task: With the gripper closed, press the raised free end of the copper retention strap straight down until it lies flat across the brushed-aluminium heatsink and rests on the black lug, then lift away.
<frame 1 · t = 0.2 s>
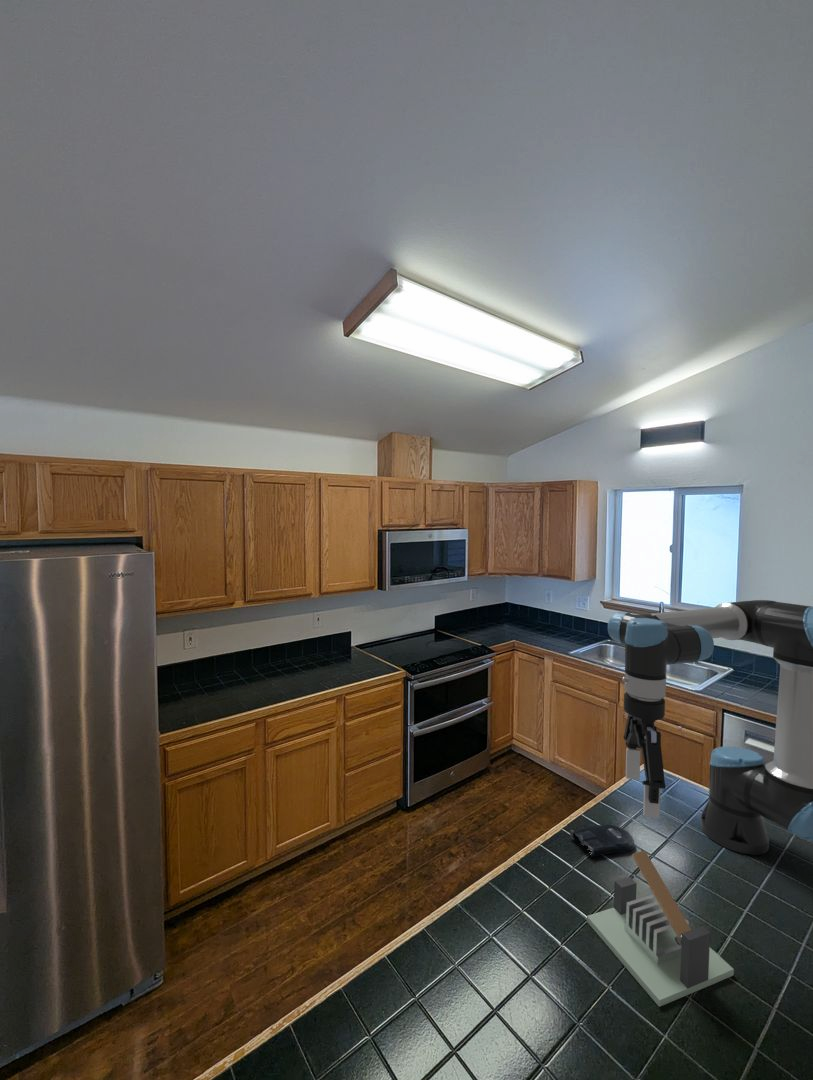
hand: (641, 796, 96), 27 cm above the countertop, fingers open, 13 cm apart
board: (655, 946, 91), on the countertop
heatsink: (656, 926, 91), point 4 cm above the countertop
strap: (662, 894, 90), point 11 cm above the countertop, hinge at -35.0°
electronic device: (604, 845, 121), on the countertop
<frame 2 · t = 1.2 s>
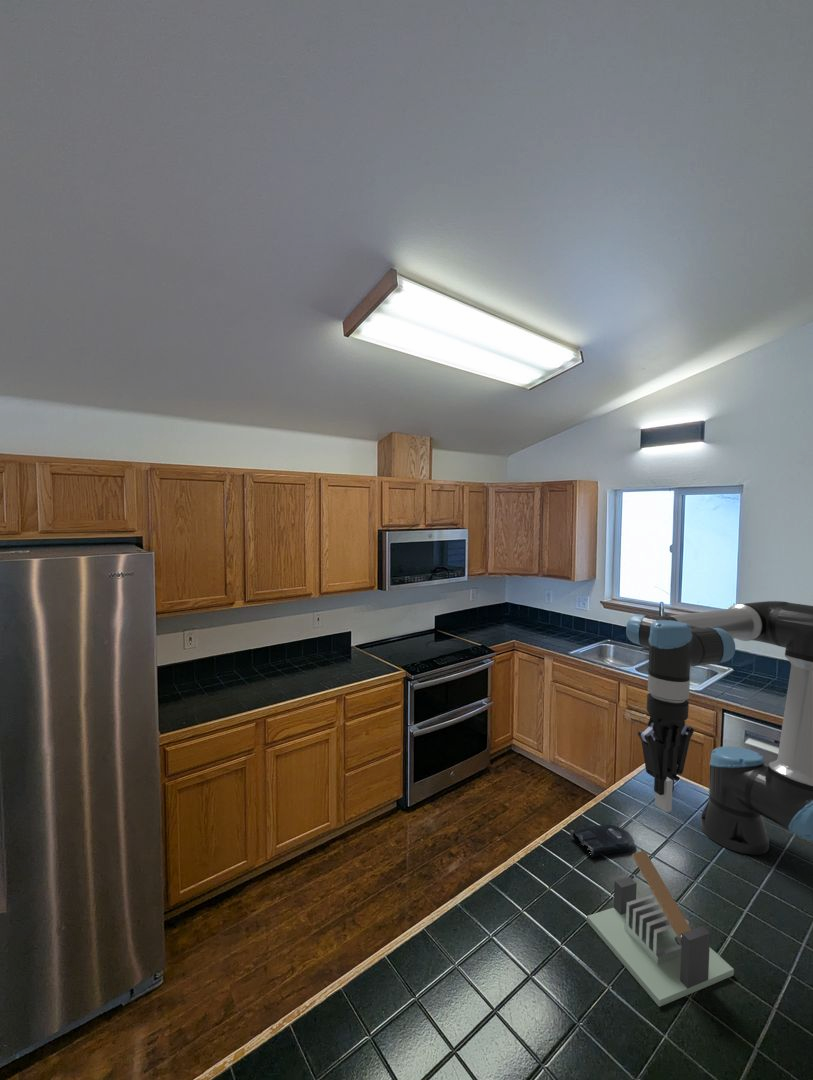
hand: (663, 807, 96), 24 cm above the countertop, fingers closed
nothing on the countertop moved.
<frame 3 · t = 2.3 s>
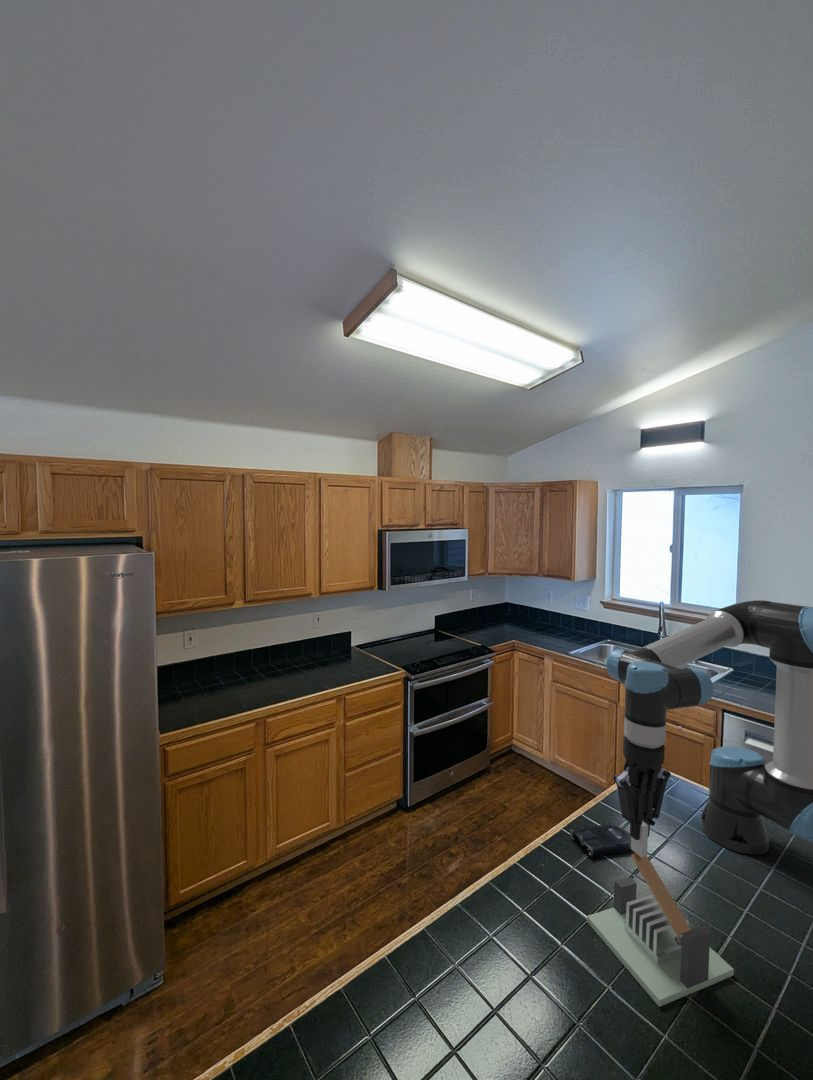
hand: (638, 852, 95), 16 cm above the countertop, fingers closed
strap: (661, 894, 90), point 11 cm above the countertop, hinge at -33.4°, touching gripper
everything else where it was.
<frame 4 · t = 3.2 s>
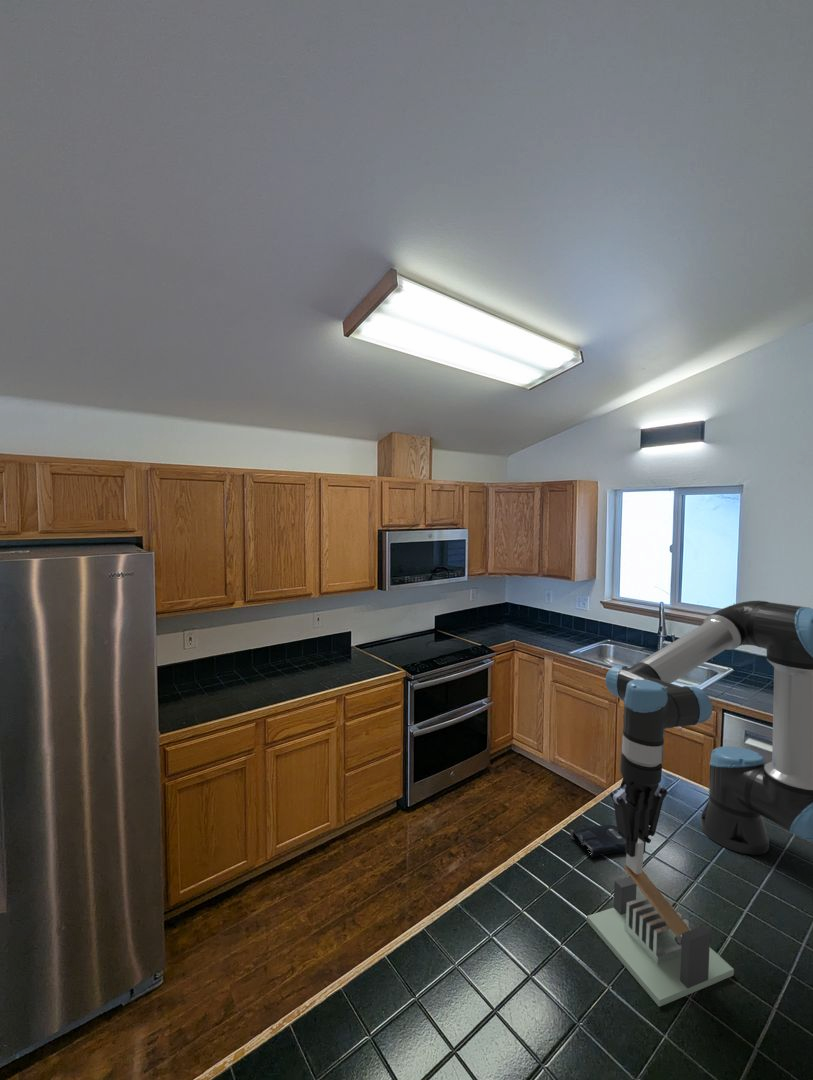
hand: (633, 868, 96), 12 cm above the countertop, fingers closed
strap: (657, 900, 91), point 9 cm above the countertop, hinge at -15.9°, touching gripper
everything else where it was.
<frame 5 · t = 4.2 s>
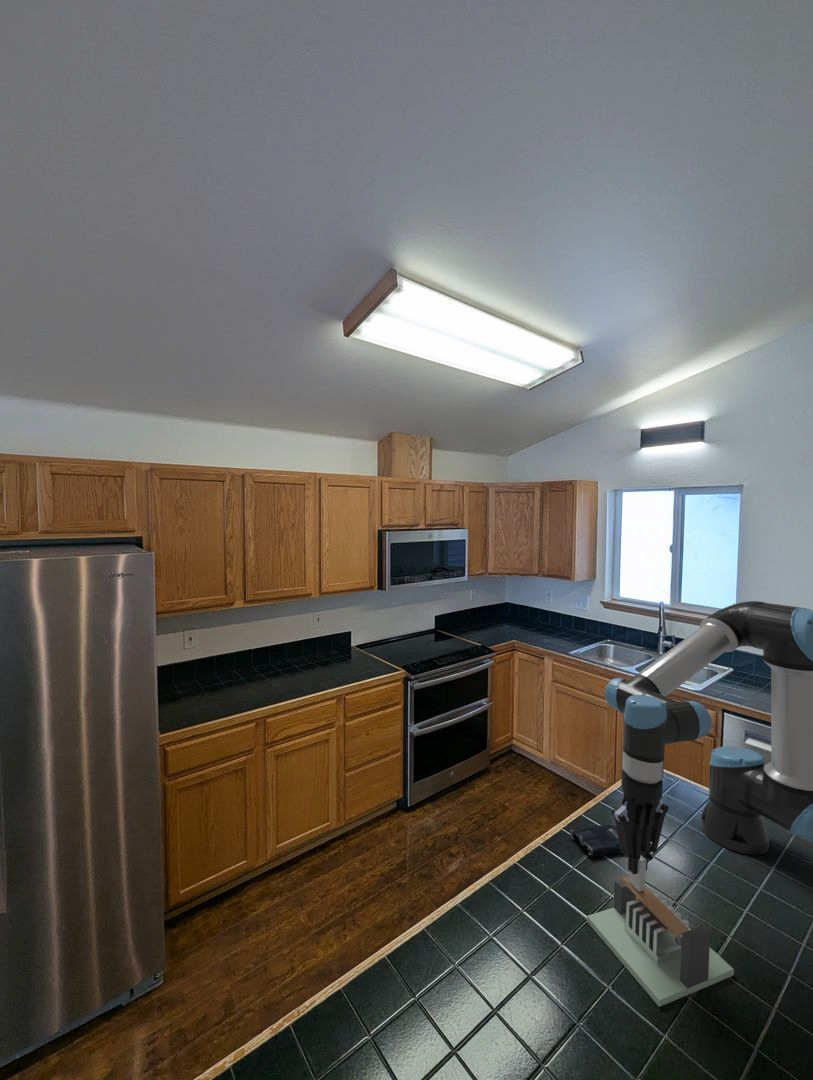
hand: (636, 886, 95), 9 cm above the countertop, fingers closed
strap: (656, 906, 91), point 8 cm above the countertop, hinge at -3.1°, touching gripper
everything else where it was.
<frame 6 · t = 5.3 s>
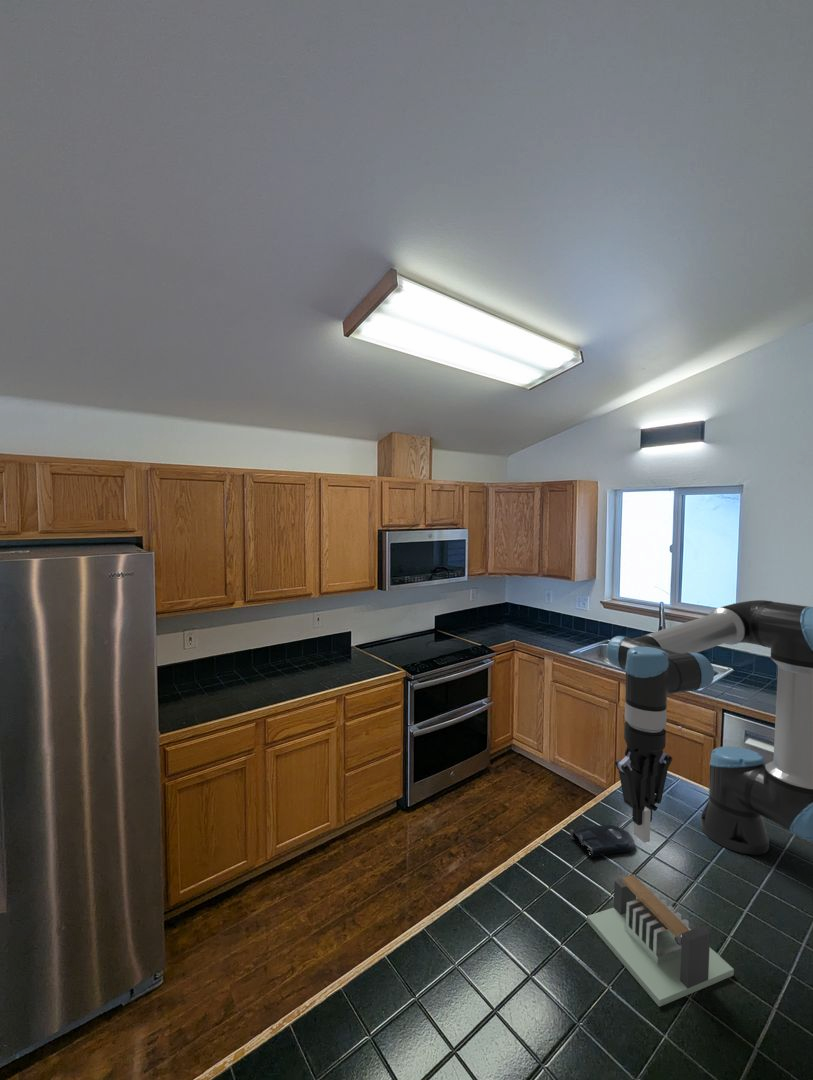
hand: (641, 837, 95), 19 cm above the countertop, fingers closed
strap: (656, 906, 91), point 8 cm above the countertop, hinge at -3.1°
everything else where it was.
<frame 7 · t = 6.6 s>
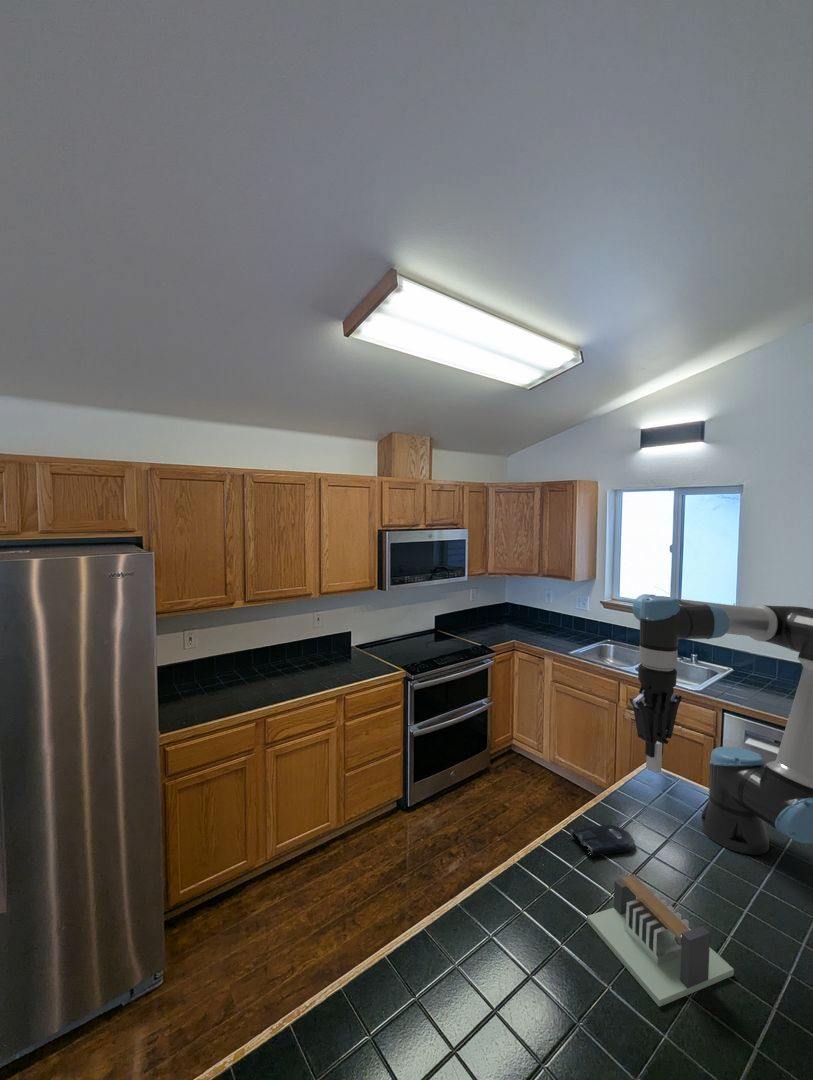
hand: (653, 769, 104), 28 cm above the countertop, fingers closed
nothing on the countertop moved.
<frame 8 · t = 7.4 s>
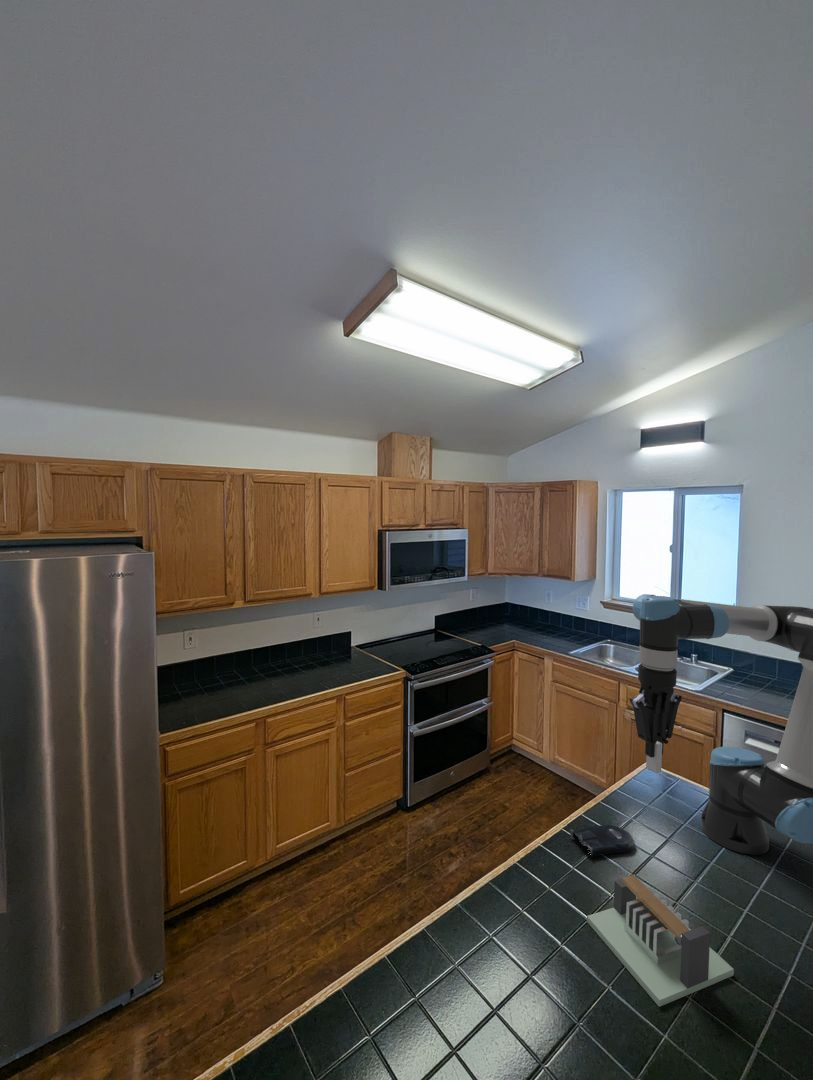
hand: (653, 769, 104), 28 cm above the countertop, fingers closed
nothing on the countertop moved.
at the end: strap at -3° (first picture: -35°) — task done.
